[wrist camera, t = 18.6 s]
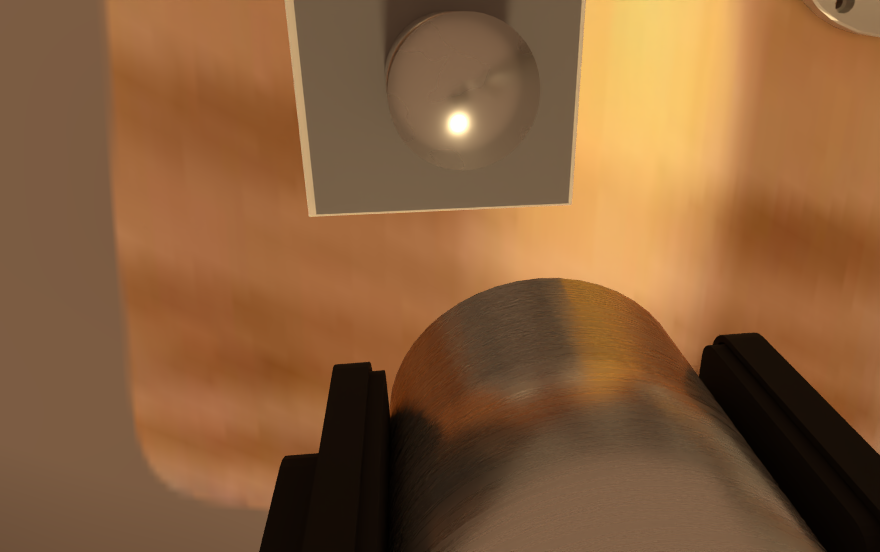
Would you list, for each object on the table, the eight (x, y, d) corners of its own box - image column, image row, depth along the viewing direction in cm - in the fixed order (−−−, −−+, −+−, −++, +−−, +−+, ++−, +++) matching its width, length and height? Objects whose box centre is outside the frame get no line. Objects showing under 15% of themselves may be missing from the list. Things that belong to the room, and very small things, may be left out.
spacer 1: (523, 39, 25) (565, 46, 20) (478, 153, 27) (505, 190, 21) (409, -9, 24) (418, -15, 19) (368, 113, 26) (366, 140, 20)
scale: (578, -202, 26) (611, -233, 22) (556, 185, 32) (578, 213, 29) (273, -200, 25) (253, -232, 21) (315, 196, 32) (305, 226, 28)
